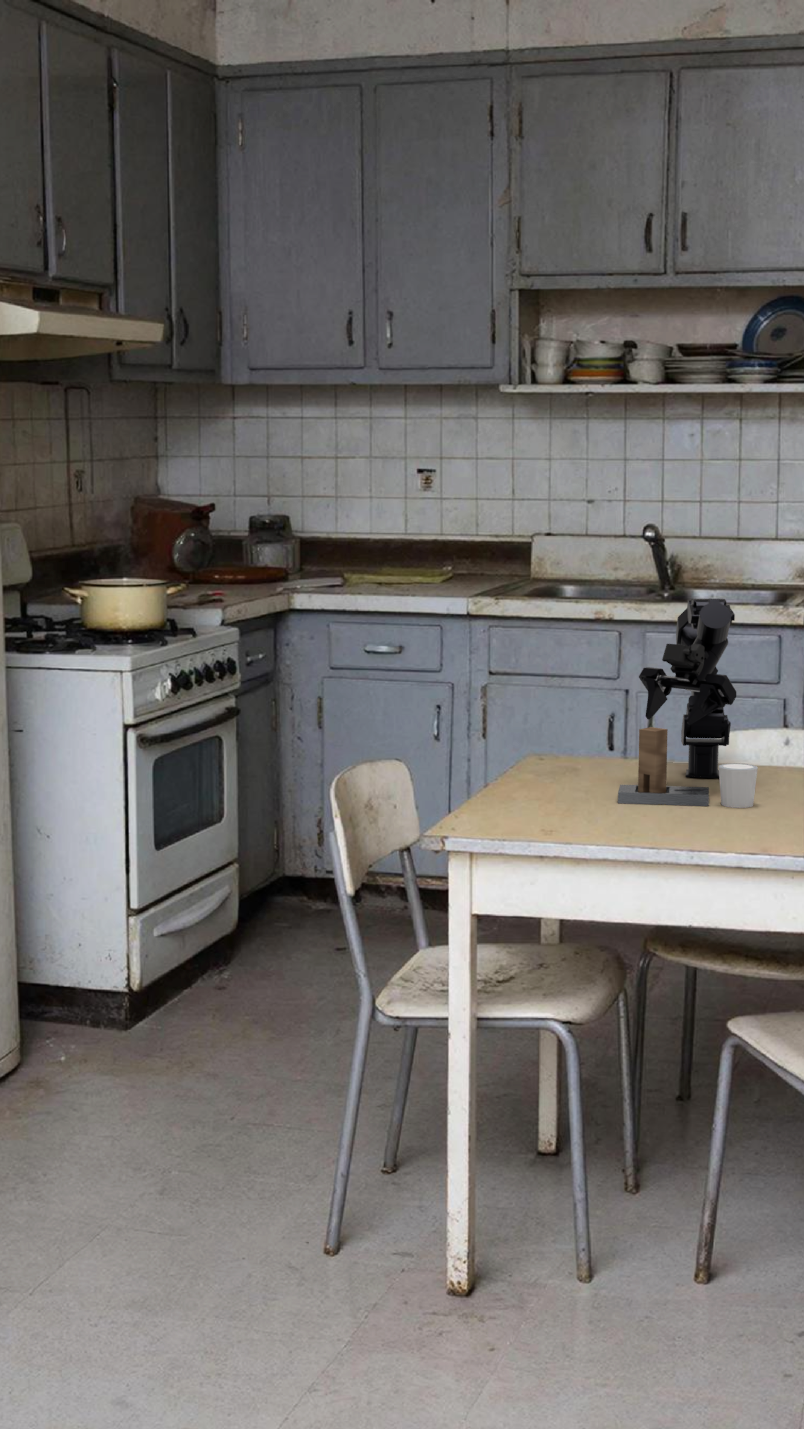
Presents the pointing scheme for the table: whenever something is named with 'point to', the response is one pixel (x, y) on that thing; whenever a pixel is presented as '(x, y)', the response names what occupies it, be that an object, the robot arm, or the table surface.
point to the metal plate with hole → (665, 796)
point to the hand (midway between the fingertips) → (667, 720)
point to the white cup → (737, 784)
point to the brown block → (652, 760)
